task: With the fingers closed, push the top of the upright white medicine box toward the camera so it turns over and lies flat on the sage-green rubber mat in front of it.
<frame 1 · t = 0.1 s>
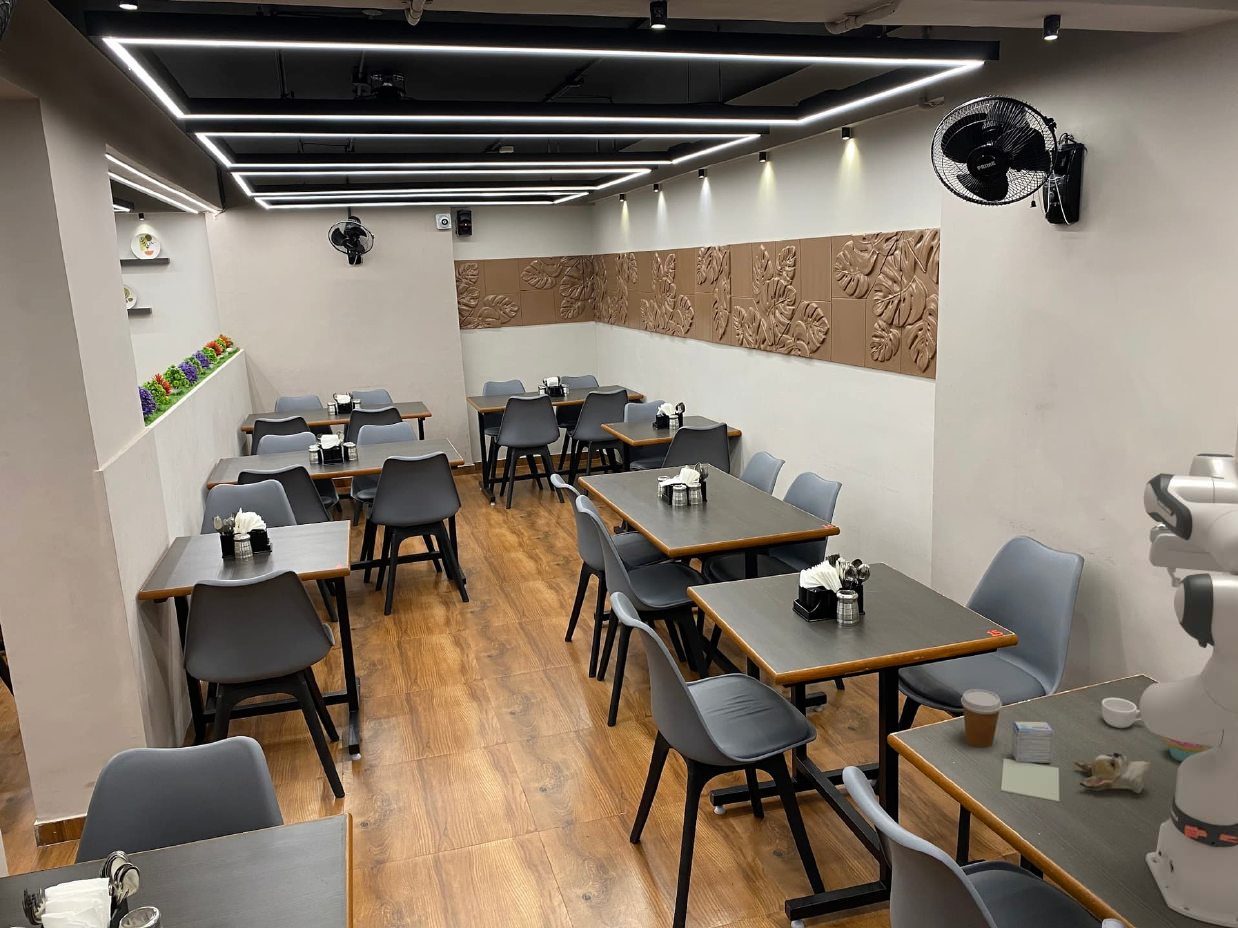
hand: (1201, 588, 193), 48 cm above the table, fingers open, 8 cm apart
medicine box: (1030, 759, 217), on the table, touching mat
mat: (1030, 779, 209), on the table
disposable coffee cup: (979, 741, 227), on the table
cupcake: (1182, 757, 215), on the table
ceramic sculpture: (1111, 787, 205), on the table
teacup: (1122, 724, 231), on the table
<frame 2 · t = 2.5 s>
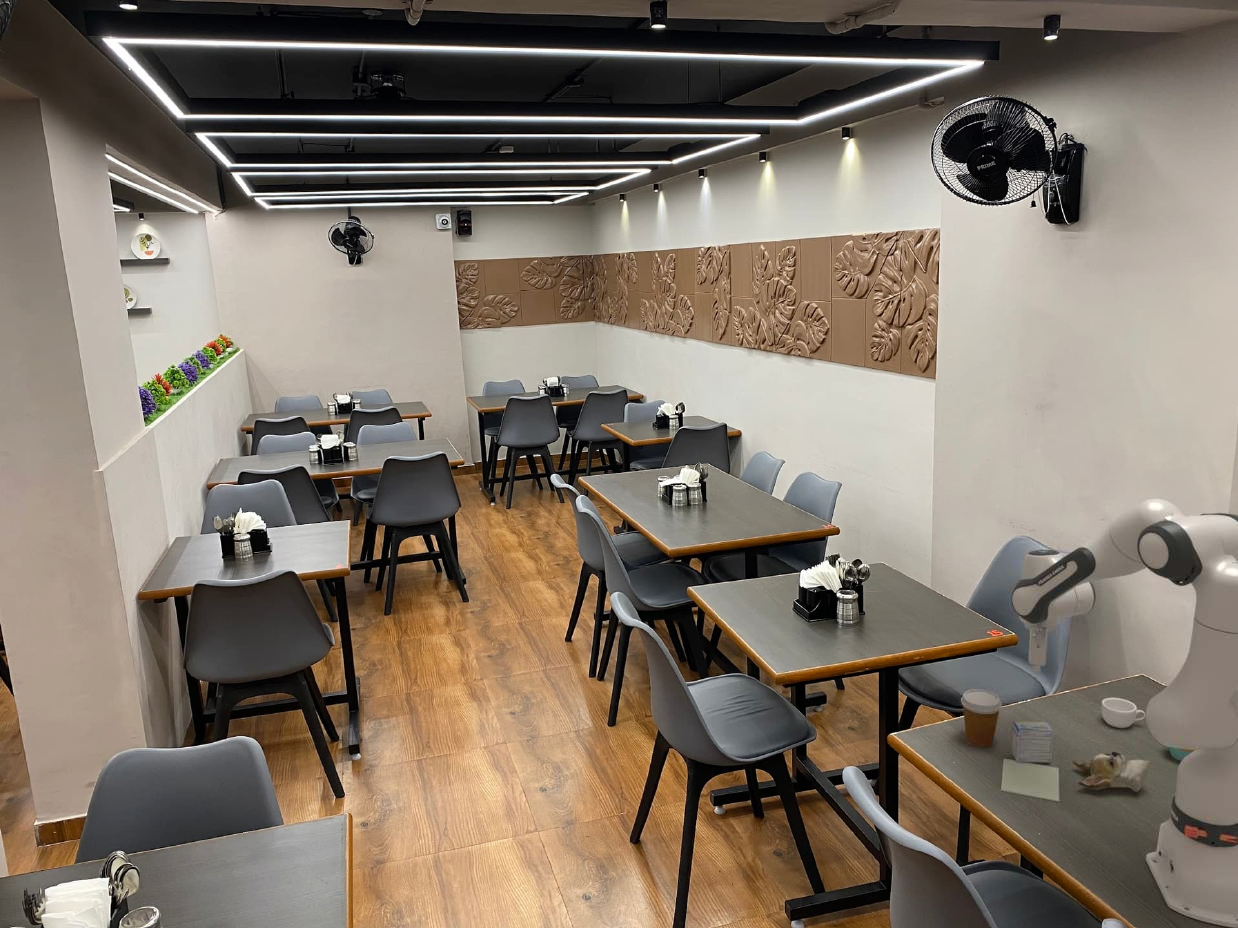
hand: (1036, 666, 219), 21 cm above the table, fingers open, 3 cm apart
nothing on the table moved.
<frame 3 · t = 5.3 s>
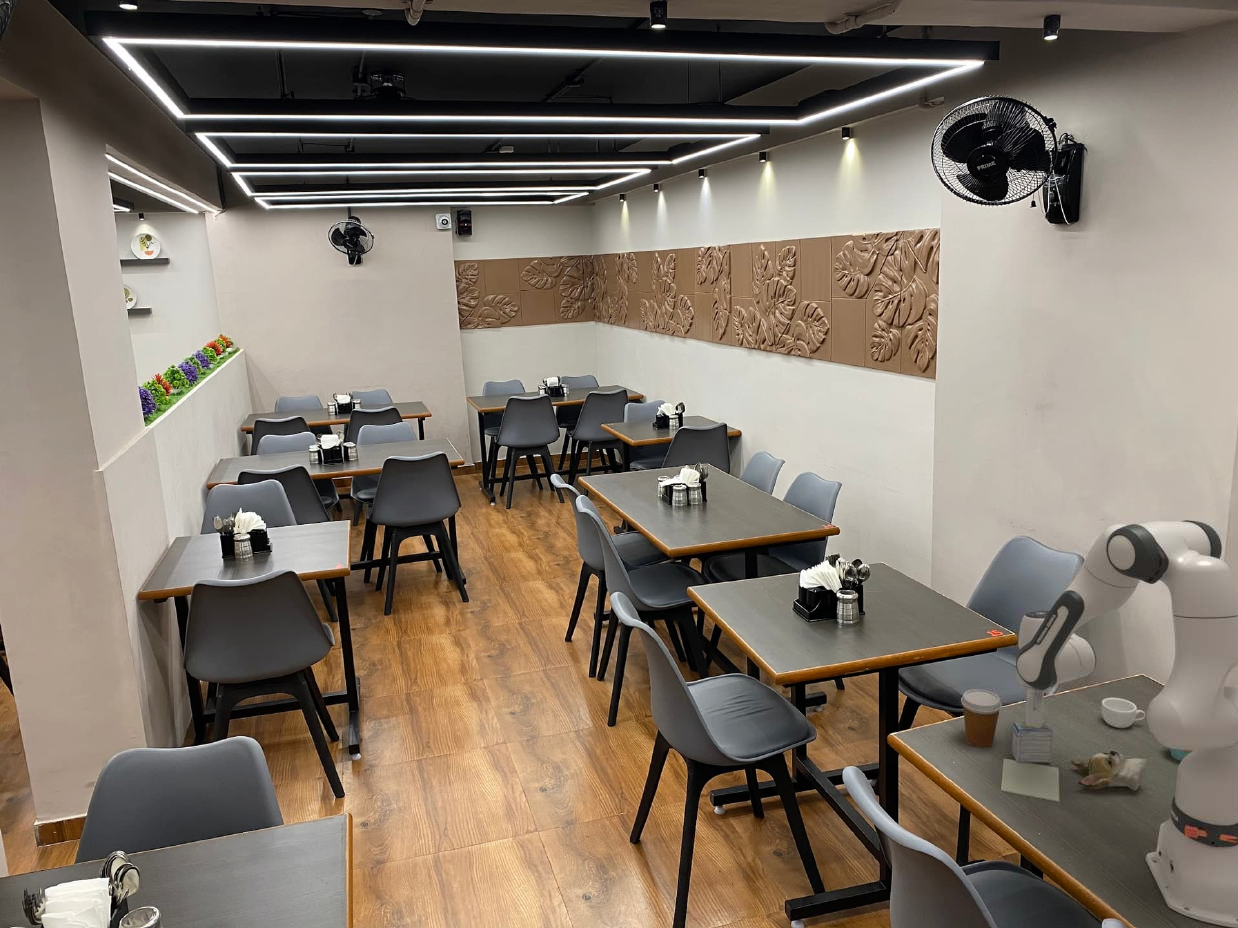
hand: (1033, 726, 219), 7 cm above the table, fingers closed
medicine box: (1030, 758, 217), on the table, touching gripper, mat
everything else where it was.
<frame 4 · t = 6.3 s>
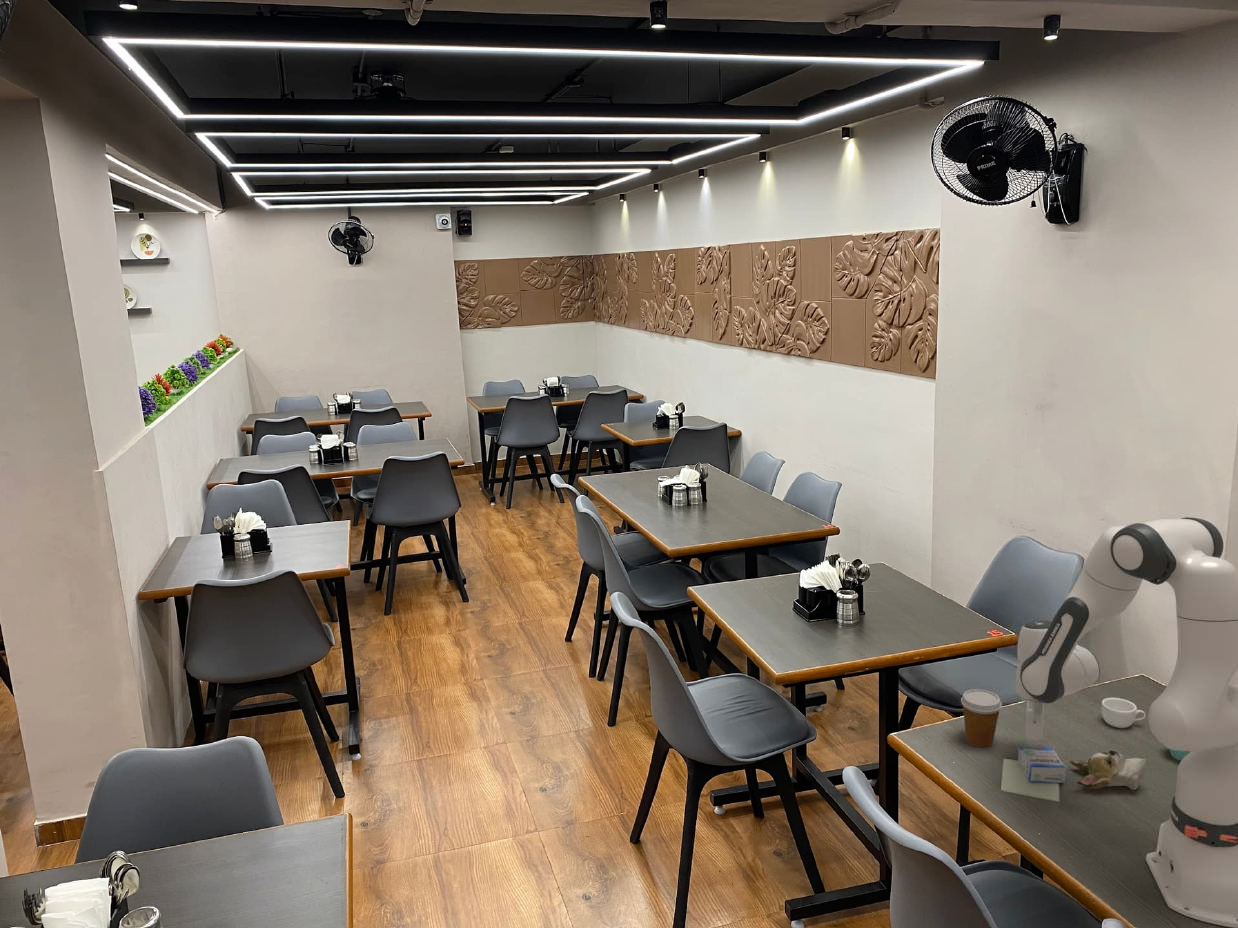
hand: (1033, 739, 214), 6 cm above the table, fingers closed
medicine box: (1034, 754, 215), point 2 cm above the table, touching mat
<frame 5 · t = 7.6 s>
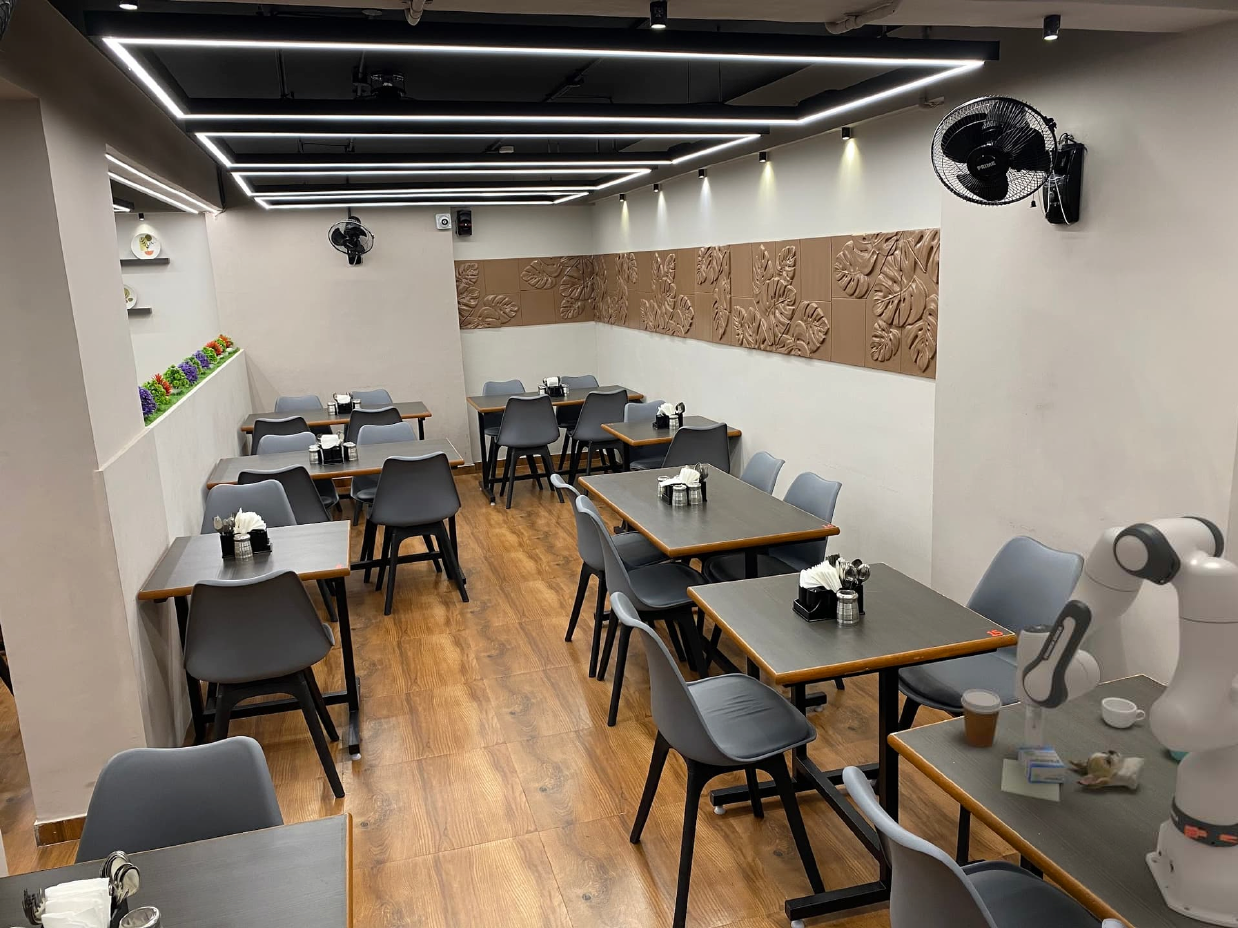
hand: (1032, 744, 212), 7 cm above the table, fingers closed
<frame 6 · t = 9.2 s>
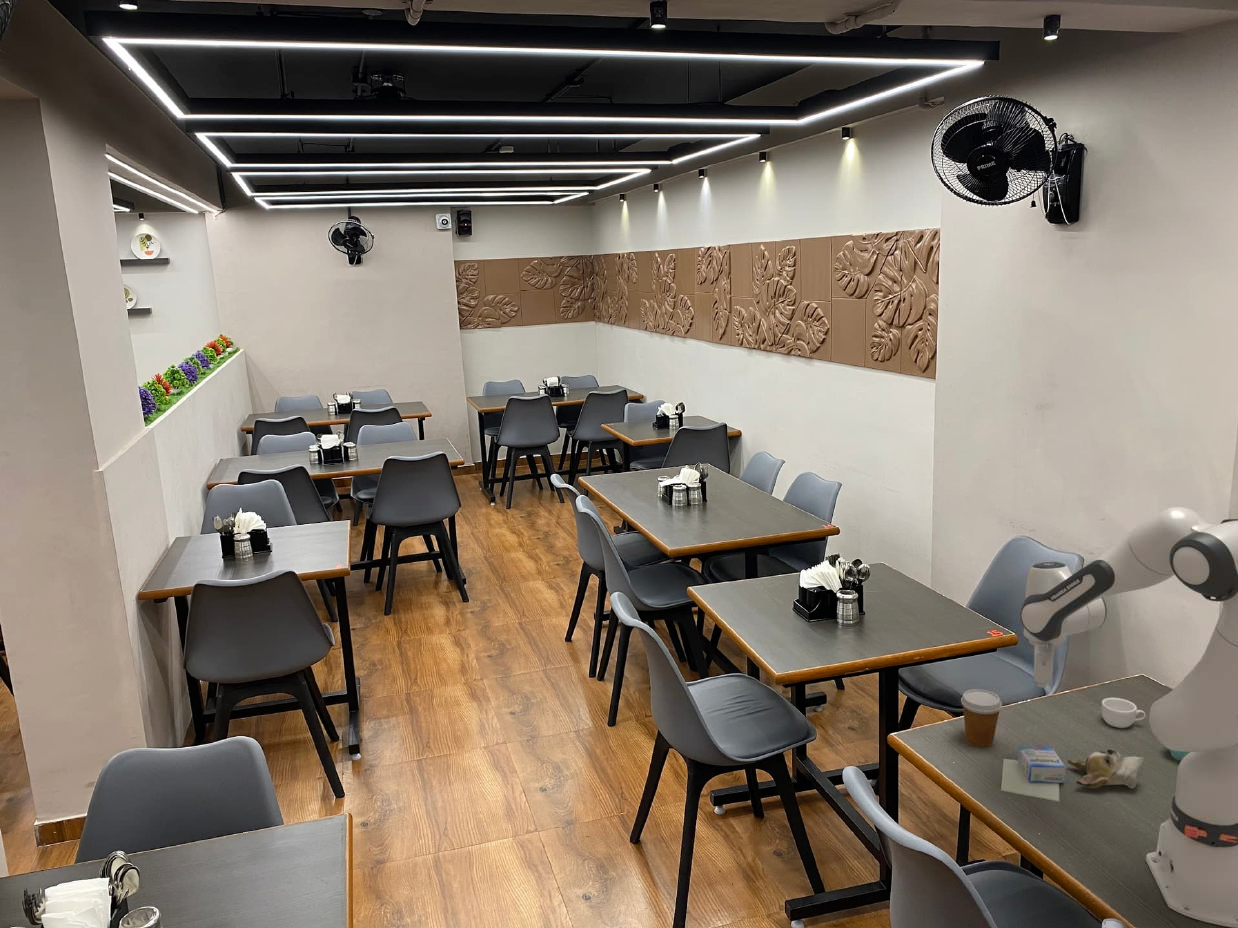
hand: (1041, 684, 209), 22 cm above the table, fingers closed
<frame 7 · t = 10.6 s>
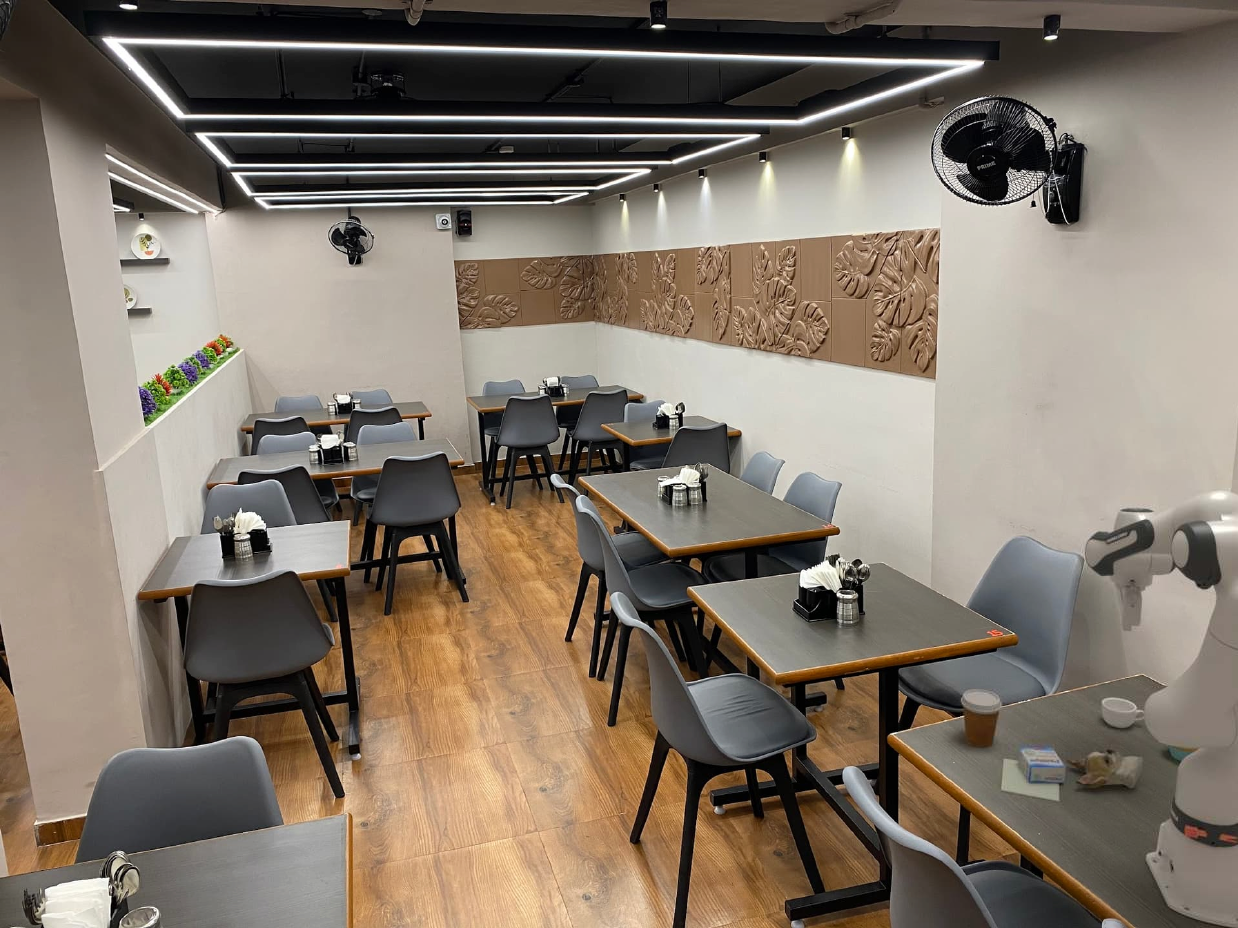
hand: (1126, 628, 214), 31 cm above the table, fingers closed
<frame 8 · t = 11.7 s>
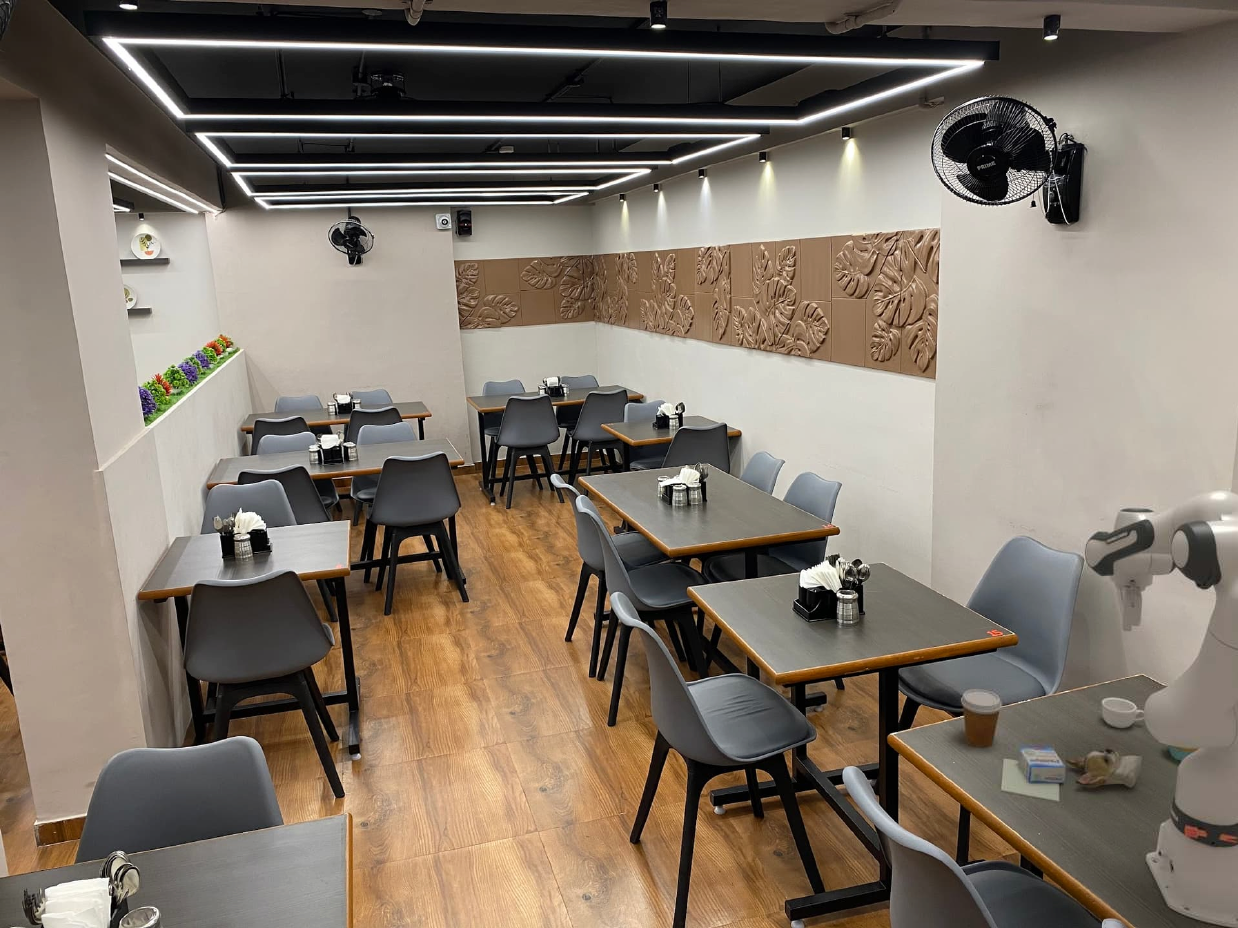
hand: (1126, 628, 214), 31 cm above the table, fingers closed
at the end: medicine box tilted 89°; medicine box touching mat; medicine box inside the target area on the mat (6.3 cm from its centre), point 2.4 cm above the mat's base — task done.
